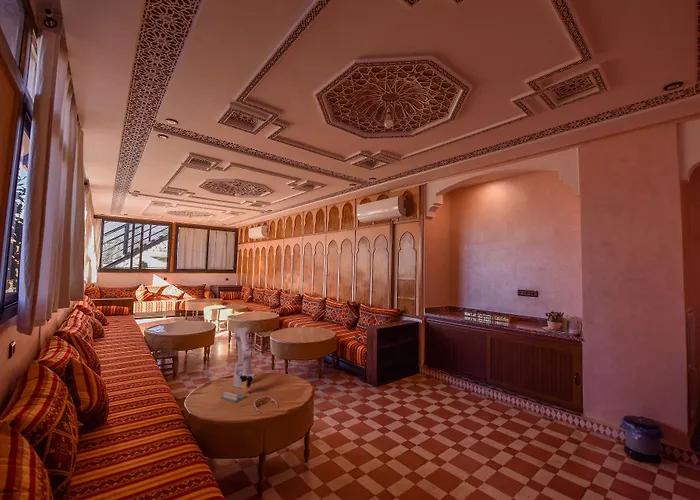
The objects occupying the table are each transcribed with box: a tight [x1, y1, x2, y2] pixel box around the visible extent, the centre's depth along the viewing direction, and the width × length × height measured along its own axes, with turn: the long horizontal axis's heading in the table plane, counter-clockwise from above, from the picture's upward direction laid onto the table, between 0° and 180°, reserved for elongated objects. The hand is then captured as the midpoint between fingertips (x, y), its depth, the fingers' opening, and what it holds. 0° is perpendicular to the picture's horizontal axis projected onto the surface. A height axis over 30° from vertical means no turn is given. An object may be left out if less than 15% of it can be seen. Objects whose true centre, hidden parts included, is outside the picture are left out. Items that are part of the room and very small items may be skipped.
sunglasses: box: [253, 395, 279, 415], centre depth 213 cm, size 14×15×5 cm
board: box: [220, 391, 248, 404], centre depth 227 cm, size 14×11×4 cm
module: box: [241, 379, 252, 391], centre depth 235 cm, size 4×5×5 cm
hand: (246, 385), depth 235 cm, fingers closed on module, 4 cm apart
